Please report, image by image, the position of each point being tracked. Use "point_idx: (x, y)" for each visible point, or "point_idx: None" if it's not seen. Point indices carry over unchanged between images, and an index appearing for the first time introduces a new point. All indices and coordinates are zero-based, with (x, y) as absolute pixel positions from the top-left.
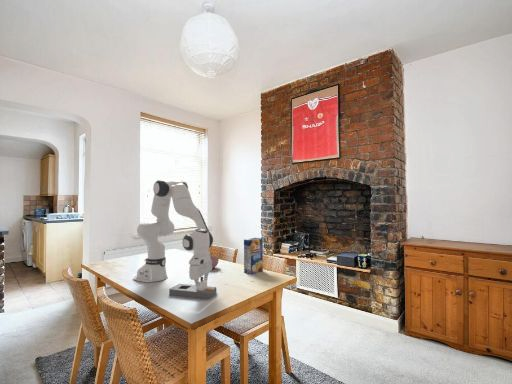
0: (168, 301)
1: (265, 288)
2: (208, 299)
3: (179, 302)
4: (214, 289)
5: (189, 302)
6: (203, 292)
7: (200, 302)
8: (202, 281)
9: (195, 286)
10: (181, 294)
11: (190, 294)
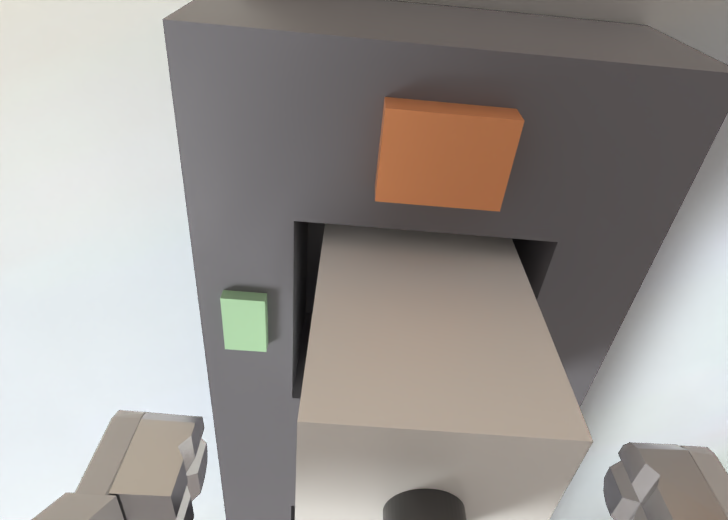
0: None
1: None
2: (656, 33)
3: (661, 413)
4: (317, 28)
5: (684, 313)
6: (665, 222)
7: (721, 154)
8: (495, 483)
9: (287, 457)
10: None
11: None
